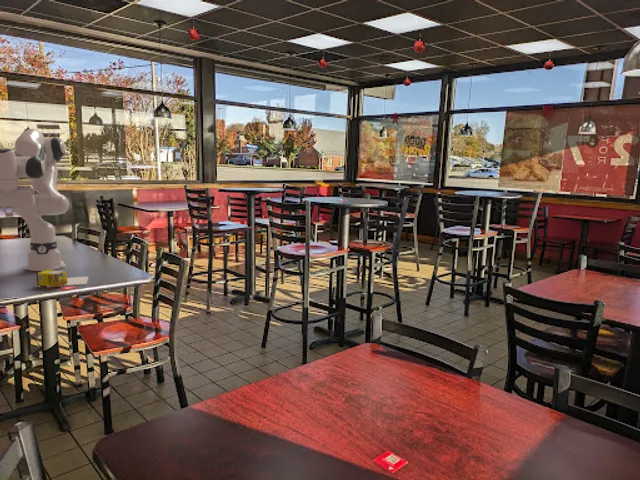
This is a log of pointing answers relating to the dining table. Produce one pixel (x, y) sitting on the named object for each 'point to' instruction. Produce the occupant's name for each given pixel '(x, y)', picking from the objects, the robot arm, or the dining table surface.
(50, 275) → the supplement box
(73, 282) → the mat
